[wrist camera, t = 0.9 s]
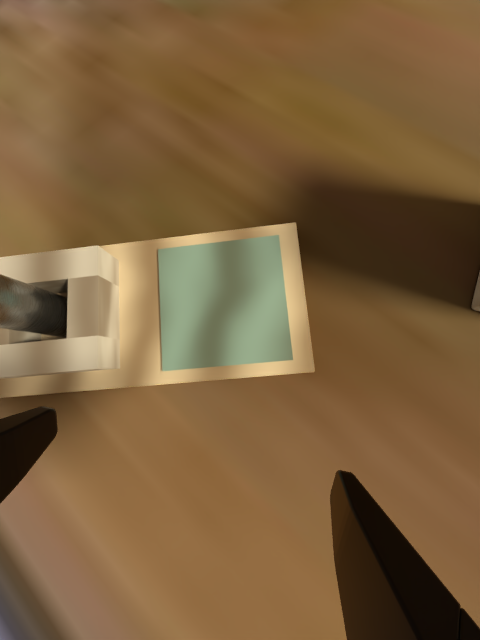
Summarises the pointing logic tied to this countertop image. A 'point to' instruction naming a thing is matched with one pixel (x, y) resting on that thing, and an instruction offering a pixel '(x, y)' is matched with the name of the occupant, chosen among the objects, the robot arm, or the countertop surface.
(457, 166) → the countertop surface
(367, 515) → the robot arm
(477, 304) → the coffee box
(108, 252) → the board
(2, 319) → the key rod
